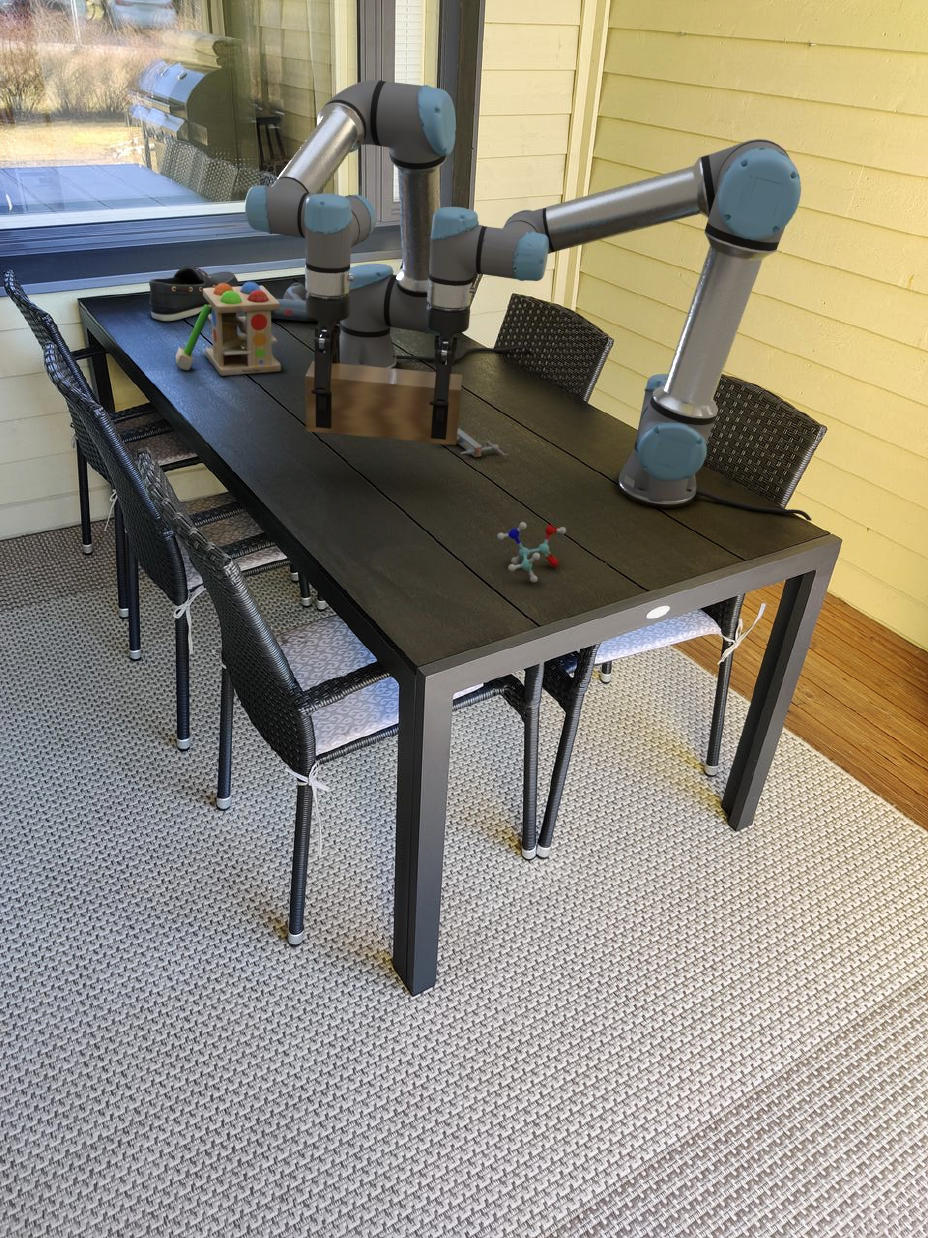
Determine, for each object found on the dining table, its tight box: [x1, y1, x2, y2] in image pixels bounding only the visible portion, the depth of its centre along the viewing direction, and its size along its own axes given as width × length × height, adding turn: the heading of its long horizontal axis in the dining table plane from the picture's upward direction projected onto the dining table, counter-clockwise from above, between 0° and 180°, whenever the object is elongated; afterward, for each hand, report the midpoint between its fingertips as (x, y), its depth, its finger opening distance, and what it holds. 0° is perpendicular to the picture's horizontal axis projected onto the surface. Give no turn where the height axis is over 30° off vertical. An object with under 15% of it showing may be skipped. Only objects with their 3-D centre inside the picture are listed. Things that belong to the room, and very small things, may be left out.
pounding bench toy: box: [174, 281, 282, 377], centre depth 225 cm, size 23×14×18 cm, turn 116°
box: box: [305, 360, 463, 446], centre depth 179 cm, size 27×8×10 cm, turn 88°
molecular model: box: [496, 521, 567, 583], centre depth 163 cm, size 12×10×10 cm
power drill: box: [271, 282, 318, 322], centre depth 265 cm, size 5×19×20 cm
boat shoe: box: [148, 265, 240, 322], centre depth 262 cm, size 13×33×10 cm, turn 147°
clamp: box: [439, 427, 508, 459], centre depth 202 cm, size 15×2×10 cm
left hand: (327, 417), depth 181 cm, fingers closed on box, 8 cm apart
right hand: (439, 428), depth 181 cm, fingers closed on box, 8 cm apart
